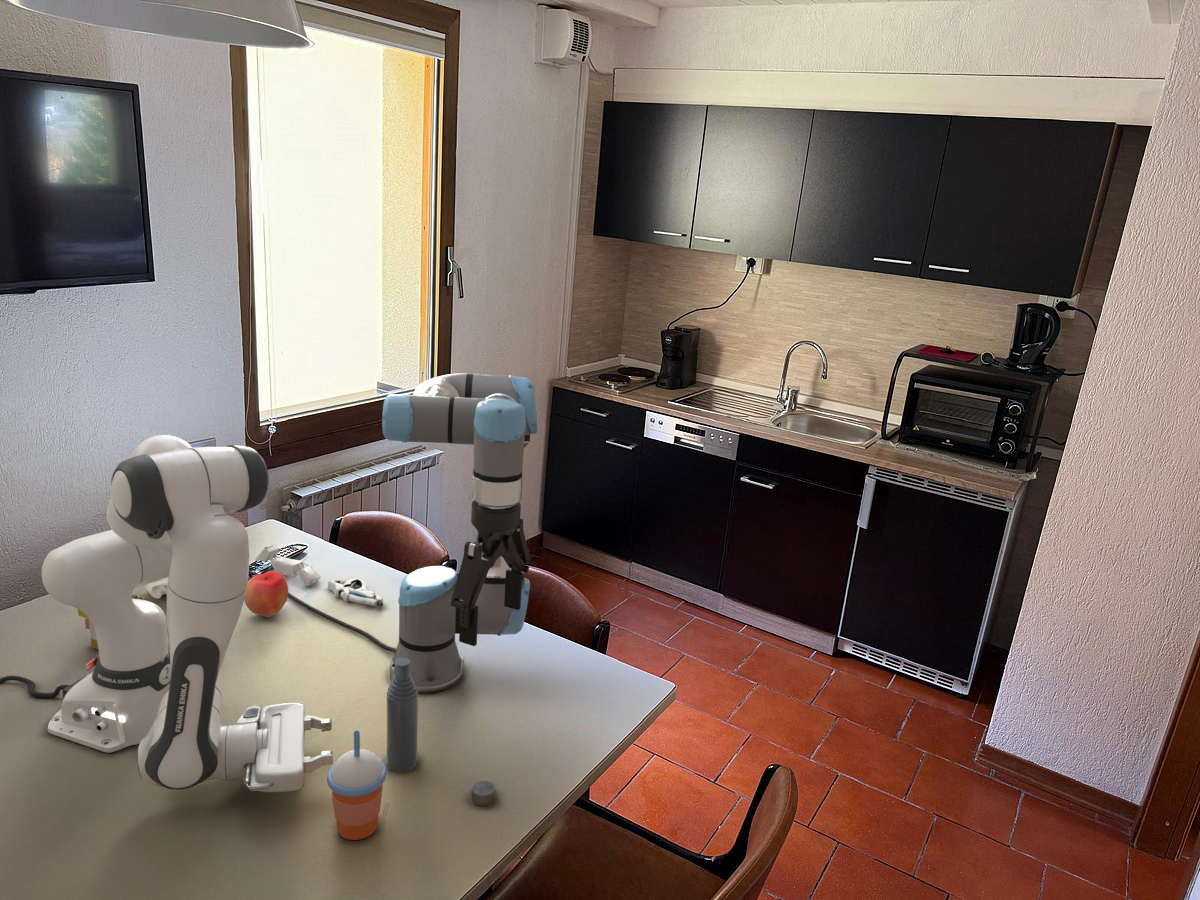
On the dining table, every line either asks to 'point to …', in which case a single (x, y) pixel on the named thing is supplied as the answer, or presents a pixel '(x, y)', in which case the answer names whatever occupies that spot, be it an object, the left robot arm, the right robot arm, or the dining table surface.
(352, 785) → the cup with straw
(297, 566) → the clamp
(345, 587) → the toy gun
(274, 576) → the apple
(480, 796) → the cap
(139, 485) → the left robot arm
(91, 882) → the dining table surface
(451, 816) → the dining table surface
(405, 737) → the bottle
